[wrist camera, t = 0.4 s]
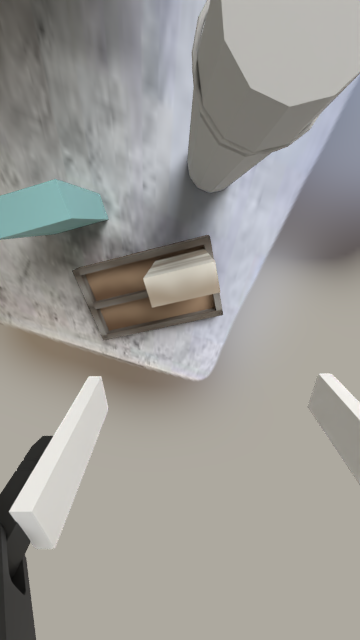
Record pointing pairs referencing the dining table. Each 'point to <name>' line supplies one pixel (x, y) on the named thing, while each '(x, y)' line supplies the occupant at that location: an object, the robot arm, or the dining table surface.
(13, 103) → the dining table surface
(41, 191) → the teal door
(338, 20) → the water bottle
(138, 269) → the track base
